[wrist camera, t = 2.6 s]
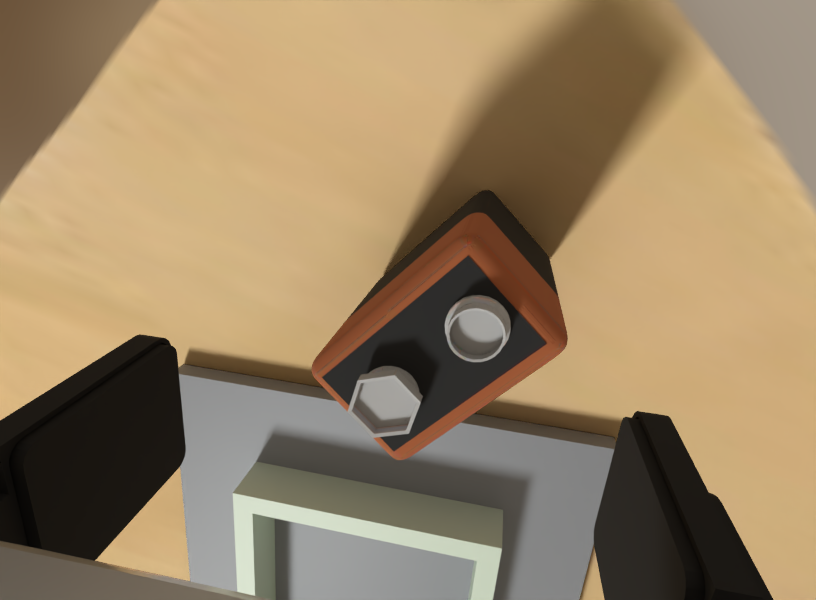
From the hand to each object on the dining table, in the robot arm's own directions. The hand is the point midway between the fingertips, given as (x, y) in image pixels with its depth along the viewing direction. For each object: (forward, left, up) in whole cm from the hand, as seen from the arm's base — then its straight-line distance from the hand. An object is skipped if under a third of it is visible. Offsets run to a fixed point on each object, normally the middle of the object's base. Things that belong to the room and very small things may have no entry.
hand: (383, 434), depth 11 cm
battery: (0, 0, -14) cm, 14 cm away
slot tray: (+3, +18, -13) cm, 23 cm away
